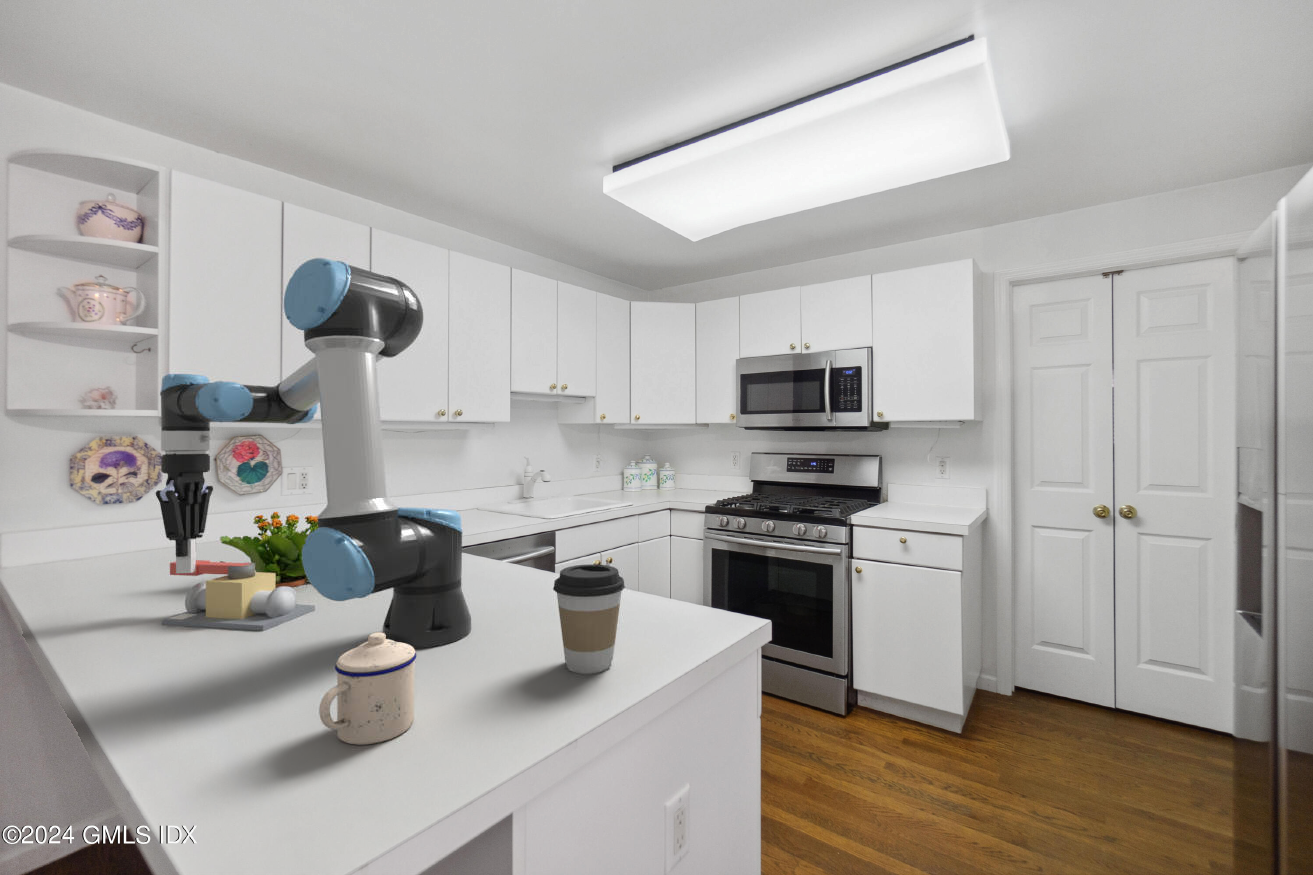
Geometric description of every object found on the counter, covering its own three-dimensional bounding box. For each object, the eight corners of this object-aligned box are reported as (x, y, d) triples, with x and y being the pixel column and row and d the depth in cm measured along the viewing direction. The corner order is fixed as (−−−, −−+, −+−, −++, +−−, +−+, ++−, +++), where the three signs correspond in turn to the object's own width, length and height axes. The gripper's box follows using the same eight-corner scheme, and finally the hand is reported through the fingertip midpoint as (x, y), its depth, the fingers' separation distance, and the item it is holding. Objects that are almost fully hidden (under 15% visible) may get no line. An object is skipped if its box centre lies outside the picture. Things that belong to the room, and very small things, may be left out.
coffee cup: (635, 656, 96) (635, 565, 96) (607, 684, 85) (607, 582, 85) (573, 648, 100) (573, 560, 100) (539, 673, 89) (539, 575, 89)
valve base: (314, 610, 121) (314, 571, 121) (263, 630, 108) (263, 587, 108) (222, 604, 124) (222, 567, 124) (162, 624, 111) (162, 582, 111)
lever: (260, 574, 118) (260, 561, 118) (242, 579, 114) (242, 566, 114) (187, 572, 120) (187, 558, 120) (166, 577, 116) (166, 563, 116)
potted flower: (296, 600, 128) (296, 520, 128) (189, 599, 128) (189, 520, 128) (356, 573, 153) (356, 506, 153) (267, 572, 153) (267, 506, 153)
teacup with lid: (380, 705, 78) (380, 619, 78) (432, 718, 75) (432, 628, 75) (294, 749, 67) (294, 649, 67) (349, 767, 64) (349, 661, 64)
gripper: (183, 453, 109) (183, 579, 109) (226, 452, 122) (226, 564, 122) (140, 453, 108) (139, 580, 108) (188, 452, 121) (188, 566, 121)
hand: (186, 572), depth 115 cm, fingers closed
